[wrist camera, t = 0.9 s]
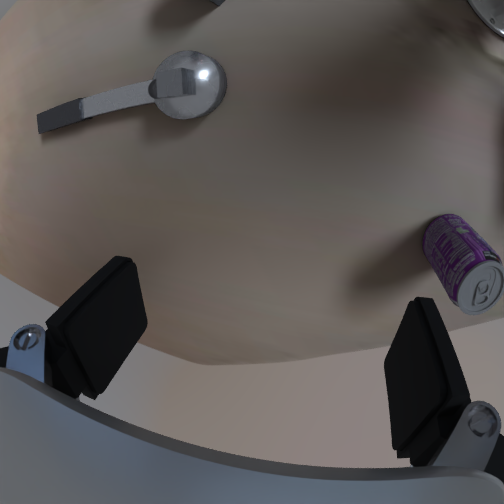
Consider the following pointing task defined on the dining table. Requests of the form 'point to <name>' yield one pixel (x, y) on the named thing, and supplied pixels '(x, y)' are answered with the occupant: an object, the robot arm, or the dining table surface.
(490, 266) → the beverage can
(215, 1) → the grey domed block
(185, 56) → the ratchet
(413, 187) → the dining table surface
